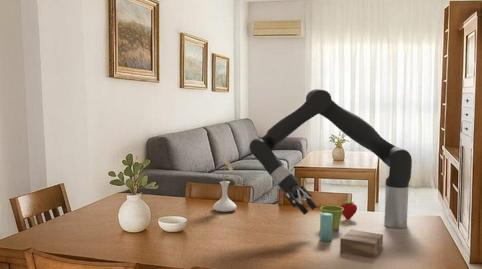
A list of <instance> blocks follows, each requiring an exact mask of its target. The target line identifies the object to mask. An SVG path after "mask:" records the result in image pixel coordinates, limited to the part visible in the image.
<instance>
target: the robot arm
mask: <svg viewBox="0 0 482 269" xmlns="http://www.w3.org/2000/svg"><path fill="white" fill-rule="evenodd" d="M318 115H320V116H322V117H323V118H325V119H326V120H328V121H330V122H331V123H332V124H333V125H334V126H335V127H336V128H337V129H339V130H340V132H342V133H343V134H344V135H346V136H347V137H349V139H352V141H354V142H355V143H357V144H358V145H360V146H362V147H363V148H365V149H367V150H369V151H370V152H372V153H373V154H374V155H375V156H377V158H379V160H381V162H383V163H384V164H385V165H386V166H387V167H388V168H389V171H388V177H386V178H385V188H384V190H385V193H384V196H385V197H384V216H383V217H384V218H383V220H384V221H383V223H384V224H383V225H384V226H385V227H388V228H391V229H392V228H393V229H406V228H407V227H408V212H409V211H408V209H409V208H408V207H409V183H410V181H411V177H412V163H413V161H412V160H413V159H412V155H411V153H410V152H409V151H408V150H406V149H404V148H401V147H398V146H395V144H392V143H390V141H387V140H386V139H385V138H383V137H382V136H381V135H380V134H379V132H378V131H377V130H376V129H375V128H374V127H373V126H372V125H370V123H369V122H367V121H366V120H364V119H363V118H362V117H360V116H358V115H357V114H355V113H353V112H351V111H349V110H347V109H346V108H343V107H342V106H340V105H339V104H337V103H336V102H335V100H334V101H333V99H332V95H331V93H330V92H328V91H327V90H325V89H322V88H321V89H320V88H315V89H312V90H310V91H309V92H307V94H306V95H305V102H304V103H303V104H302V105H301V106H300V107H298V108H297V109H296V110H295V111H293V112H291V113H290V114H288V115H287V116H285V117H284V118H282V119H280V120H279V121H278V122H276V123H275V124H274V125H273V126H271V127H270V128H269V129H268V130H267V132H266V134H265V135H264V136H263V137H262V138H254V139H252V141H251V142H250V144H249V151H250V153H251V154H252V155H253V156H254V157H255V159H257V161H258V162H259V163H260V164H261V165H262V167H263V168H264V169H265V171H266V172H267V173H268V174H269V176H270V177H271V178H272V180H273V181H274V183H275V184H276V186H278V188H279V189H280V191H282V193H283V194H284V196H285V198H286V199H287V201H289V203H290V205H291V206H292V207H293V208H298V209H299V210H300V212H301V213H302V214H303V215H306V214H308V213H309V209H308V208H307V207H306V206H305V204H303V202H302V201H304V202H305V203H306V204H307V205H308V206H309V208H310V209H311V210H315V209H316V208H317V204H316V203H315V202H314V200H312V197H313V195H312V194H311V193H310V192H309V191H308V190H307V188H306V187H305V186H304V185H301V186H299V183H300V182H299V180H298V178H296V176H295V175H294V174H293V173H292V172H291V170H290V169H289V168H288V167H287V166H286V165H285V163H283V162H282V160H281V159H280V158H279V157H277V155H275V153H274V152H273V150H274V149H275V147H277V145H278V144H280V143H281V142H282V141H284V140H285V139H286V138H288V137H289V136H290V135H291V134H293V132H295V131H296V130H297V129H298V128H300V127H301V126H302V125H304V124H305V123H306V122H308V121H309V120H311V119H313V118H314V117H315V116H318Z"/></svg>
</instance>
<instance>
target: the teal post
mask: <svg viewBox="0 0 482 269" xmlns="http://www.w3.org/2000/svg"><path fill="white" fill-rule="evenodd" d="M332 218H333V215H332V214H330V213H322V212H321V213H320V218H319V219H320V220H319V240H320V241H321V242H325V243H328V242H329V243H330V242H332V241H333V231H332Z"/></svg>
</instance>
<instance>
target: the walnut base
mask: <svg viewBox="0 0 482 269" xmlns="http://www.w3.org/2000/svg"><path fill="white" fill-rule="evenodd" d="M383 237H384V234H383V233H375V232H369V231H363V230H356V229H349V231H347V232H346V233H345V234H343V235H342V236H341V237H340V242H339V244H340V245H339V247H340V248H339V249H340V250H339V252H340V253H345V254H350V255H355V256H362V257H367V258H371V259H372V258H373V259H374V258H375V257H376V256H377V255H378V254H379V253H380V251H381V250H382V249H383V240H384V238H383Z"/></svg>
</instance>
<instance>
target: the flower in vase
mask: <svg viewBox="0 0 482 269" xmlns="http://www.w3.org/2000/svg"><path fill="white" fill-rule="evenodd" d="M222 160H223V163H224V165H225V167H224V169H223V172H222V177H223V178H222V181H219V184H220V186H221V191H222V194H221V195H222V196H221V198H220V199H219V200H218V201H216V202H215V203H214V204H213V206H212V209H213V210H214V211H216V212H223V213H225V212H227V213H228V212H233V211H235V210H236V209H237V208H238V207H237V204H235V203H234V201H233V200H231V199H230V198H229V197H228V187H229V185H230V183H231V181H228V180H225V179H227V178H229V177H228V175H225V171H226V169H227V170H229V171H230V172H231V173H233V172H234V167H232V165H231V164H232V163H231V162H229V160H228V158H226V157H224V158H223V159H222ZM224 175H225V176H224Z"/></svg>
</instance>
